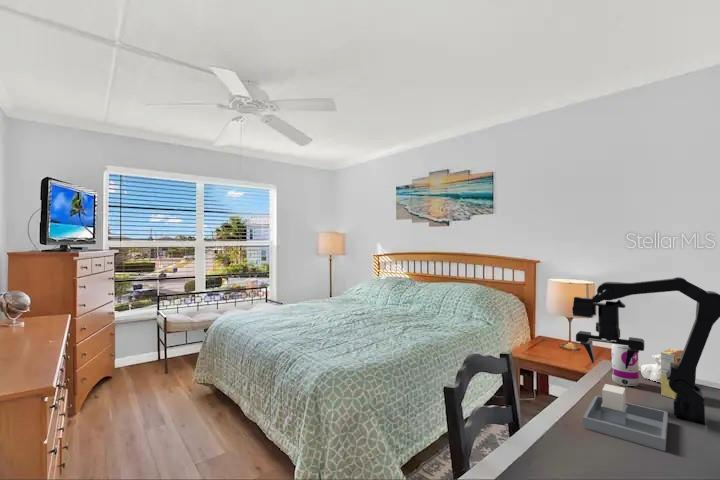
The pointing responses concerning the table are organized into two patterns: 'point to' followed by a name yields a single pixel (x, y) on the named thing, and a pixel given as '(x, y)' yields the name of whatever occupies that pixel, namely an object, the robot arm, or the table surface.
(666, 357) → the candy box
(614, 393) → the cream box
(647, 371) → the duck figurine
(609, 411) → the steel block
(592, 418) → the tray
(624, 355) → the supplement can
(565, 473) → the table surface
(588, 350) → the robot arm
